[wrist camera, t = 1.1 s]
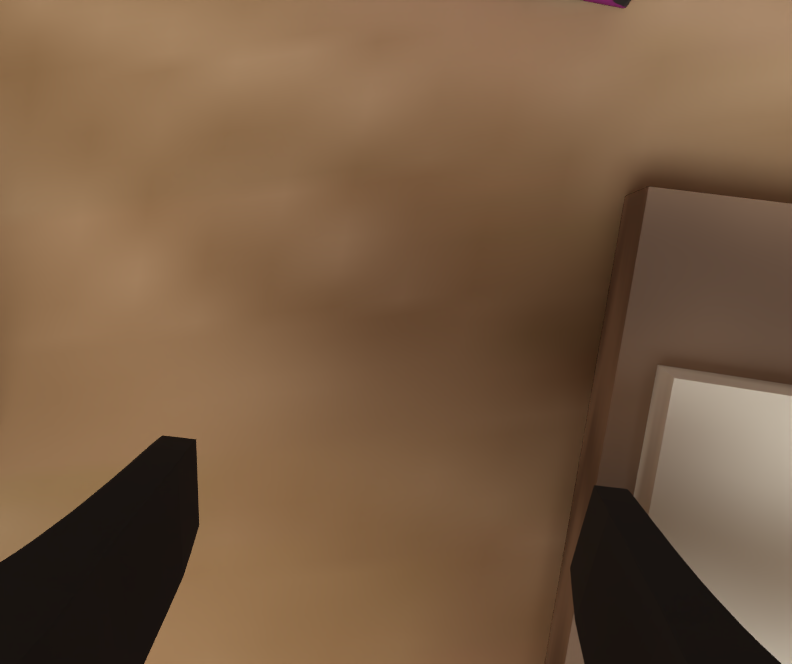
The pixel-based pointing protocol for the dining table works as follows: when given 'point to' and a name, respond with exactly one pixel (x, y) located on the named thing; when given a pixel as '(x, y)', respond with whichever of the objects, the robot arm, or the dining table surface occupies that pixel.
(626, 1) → the candy bar box
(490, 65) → the dining table surface
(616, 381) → the walnut board
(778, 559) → the birch tile
